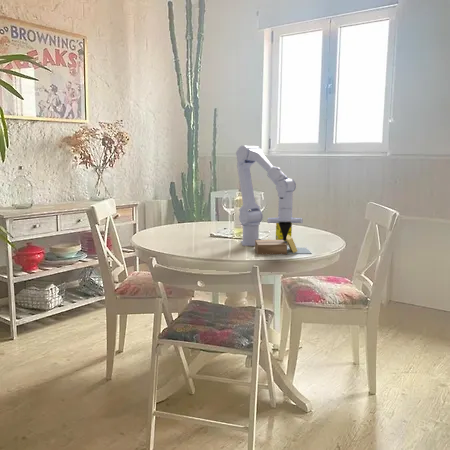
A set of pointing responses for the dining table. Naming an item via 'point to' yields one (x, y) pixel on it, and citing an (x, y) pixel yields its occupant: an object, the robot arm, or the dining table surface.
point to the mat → (299, 251)
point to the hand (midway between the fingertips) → (284, 239)
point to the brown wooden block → (270, 247)
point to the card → (291, 243)
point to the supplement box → (279, 232)
